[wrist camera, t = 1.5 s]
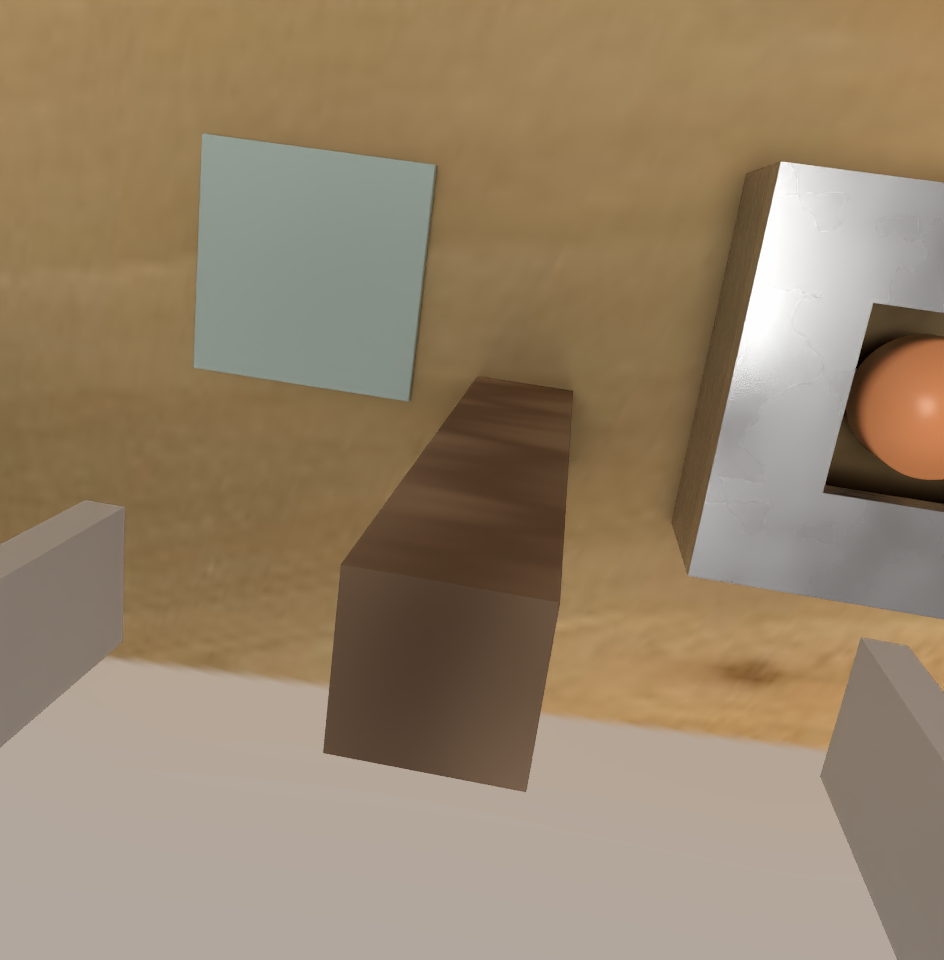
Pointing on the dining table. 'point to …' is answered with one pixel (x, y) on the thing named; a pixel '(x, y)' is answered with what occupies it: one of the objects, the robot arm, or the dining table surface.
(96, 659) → the robot arm
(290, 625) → the dining table surface
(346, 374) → the pad
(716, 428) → the box
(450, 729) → the brown wooden bar
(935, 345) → the plunger
